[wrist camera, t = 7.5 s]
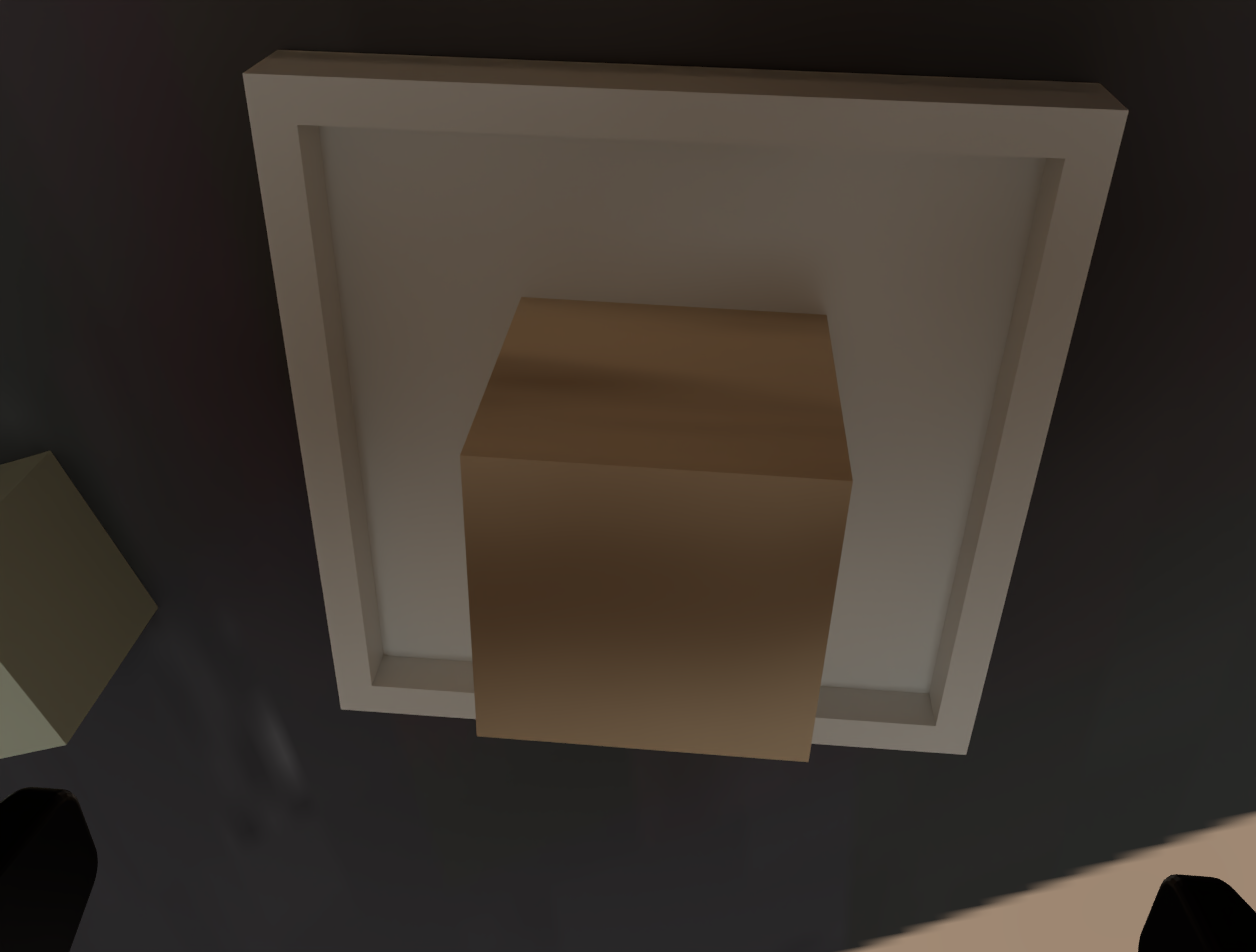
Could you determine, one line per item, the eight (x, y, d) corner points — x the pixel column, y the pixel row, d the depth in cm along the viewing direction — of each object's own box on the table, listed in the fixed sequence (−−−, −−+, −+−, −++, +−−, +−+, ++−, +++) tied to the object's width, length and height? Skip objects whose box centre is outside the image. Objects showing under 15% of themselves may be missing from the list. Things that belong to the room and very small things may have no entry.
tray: (1099, 83, 17) (1128, 110, 16) (953, 700, 24) (965, 755, 22) (277, 49, 18) (242, 73, 16) (361, 659, 24) (340, 709, 23)
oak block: (793, 561, 21) (808, 762, 17) (526, 542, 22) (476, 735, 17) (826, 315, 19) (852, 481, 14) (521, 296, 19) (459, 455, 15)
